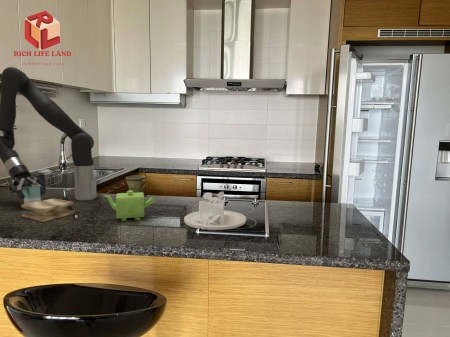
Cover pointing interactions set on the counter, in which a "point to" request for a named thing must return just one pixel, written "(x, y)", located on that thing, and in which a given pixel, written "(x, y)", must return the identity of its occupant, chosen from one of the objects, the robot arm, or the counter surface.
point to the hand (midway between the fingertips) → (33, 196)
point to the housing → (31, 194)
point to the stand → (47, 209)
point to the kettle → (129, 205)
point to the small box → (41, 179)
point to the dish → (214, 215)
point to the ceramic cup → (136, 183)
